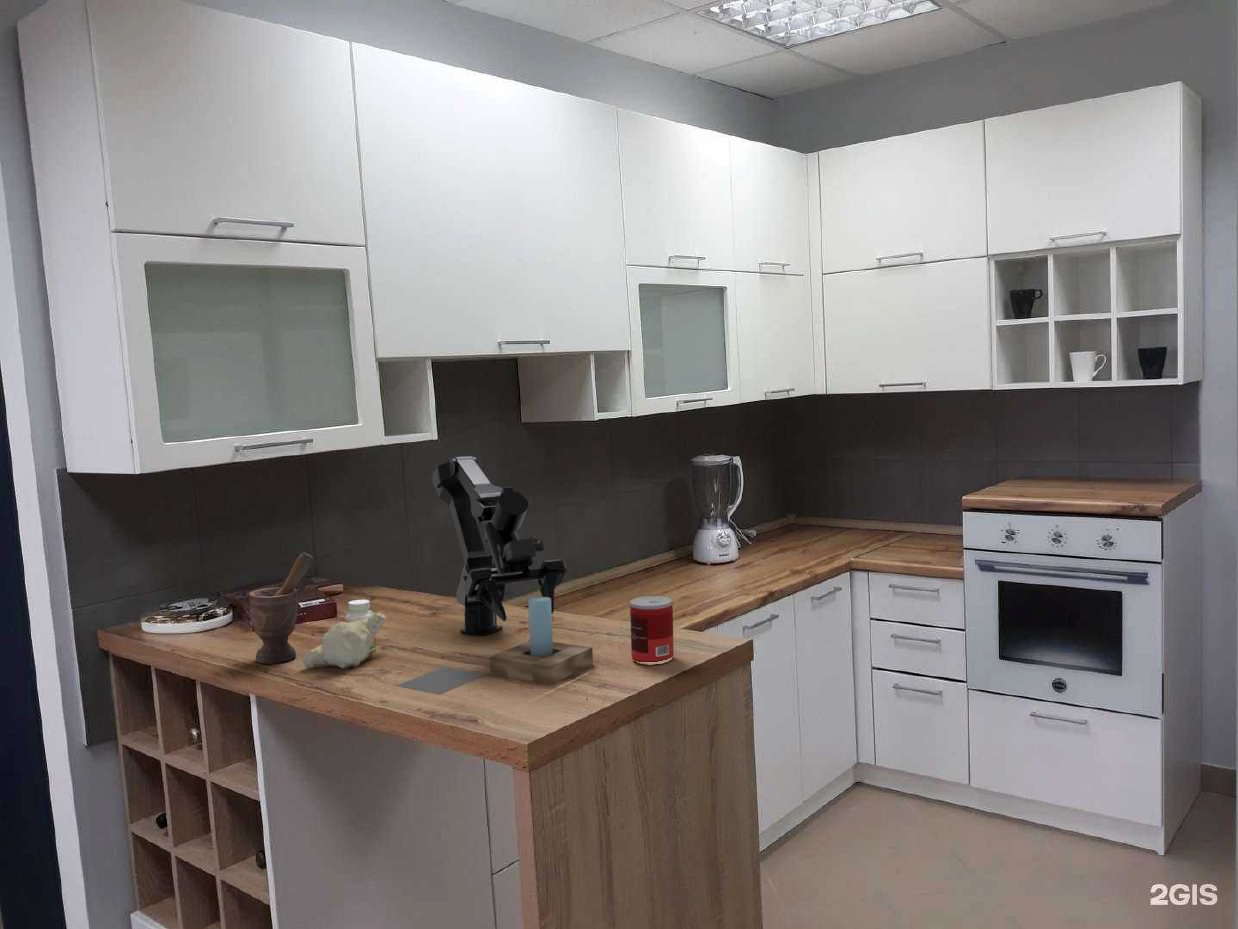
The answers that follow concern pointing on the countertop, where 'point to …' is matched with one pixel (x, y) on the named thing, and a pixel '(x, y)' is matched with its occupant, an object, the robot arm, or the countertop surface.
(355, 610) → the supplement bottle
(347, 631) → the cream lumpy knobby chunk
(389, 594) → the countertop surface
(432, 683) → the mat
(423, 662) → the countertop surface
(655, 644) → the canned food
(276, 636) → the mortar and pestle
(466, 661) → the countertop surface
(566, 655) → the block
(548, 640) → the light blue cylinder
